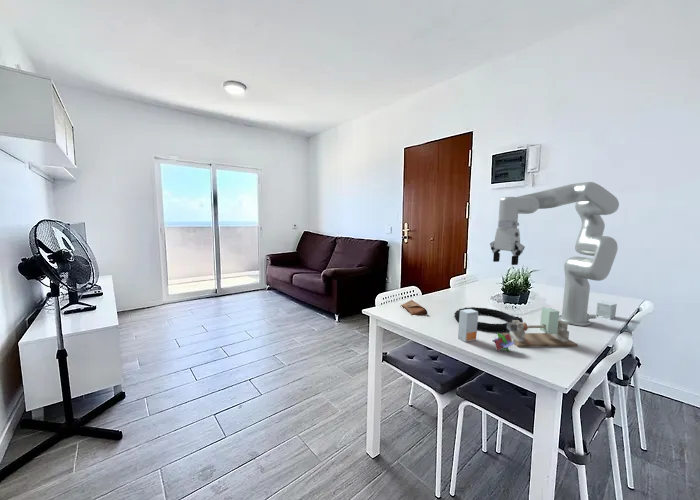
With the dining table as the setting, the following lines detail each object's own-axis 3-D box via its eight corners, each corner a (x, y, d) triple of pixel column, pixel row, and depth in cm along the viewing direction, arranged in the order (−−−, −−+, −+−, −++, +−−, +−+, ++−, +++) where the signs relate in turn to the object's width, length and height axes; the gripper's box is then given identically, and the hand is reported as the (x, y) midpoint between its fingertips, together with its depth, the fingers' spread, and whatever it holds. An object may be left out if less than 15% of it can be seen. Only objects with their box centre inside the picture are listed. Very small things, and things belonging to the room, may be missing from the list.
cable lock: (450, 304, 157) (512, 308, 151) (450, 311, 157) (511, 315, 151) (459, 322, 130) (534, 328, 124) (458, 330, 130) (533, 337, 124)
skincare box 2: (595, 315, 152) (596, 302, 151) (600, 314, 155) (602, 300, 154) (610, 319, 147) (612, 305, 146) (615, 317, 150) (617, 303, 149)
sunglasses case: (398, 305, 164) (404, 295, 165) (408, 311, 166) (414, 300, 166) (412, 316, 147) (419, 304, 147) (423, 322, 149) (429, 310, 149)
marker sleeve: (549, 329, 121) (551, 308, 120) (557, 333, 117) (559, 311, 116) (539, 329, 121) (541, 308, 120) (547, 334, 117) (549, 311, 116)
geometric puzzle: (497, 350, 106) (510, 331, 106) (484, 342, 112) (496, 325, 113) (510, 359, 107) (522, 342, 108) (496, 351, 114) (508, 334, 114)
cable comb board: (556, 335, 125) (558, 317, 124) (577, 346, 114) (579, 326, 114) (500, 335, 124) (501, 317, 123) (516, 347, 113) (517, 327, 112)
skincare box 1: (465, 342, 117) (467, 313, 115) (457, 338, 120) (459, 310, 119) (476, 340, 119) (478, 311, 118) (468, 336, 123) (470, 308, 122)
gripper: (531, 225, 124) (528, 265, 126) (497, 224, 140) (495, 260, 142) (518, 225, 121) (516, 266, 123) (485, 224, 137) (483, 260, 139)
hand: (505, 263), depth 133 cm, fingers open, 9 cm apart
